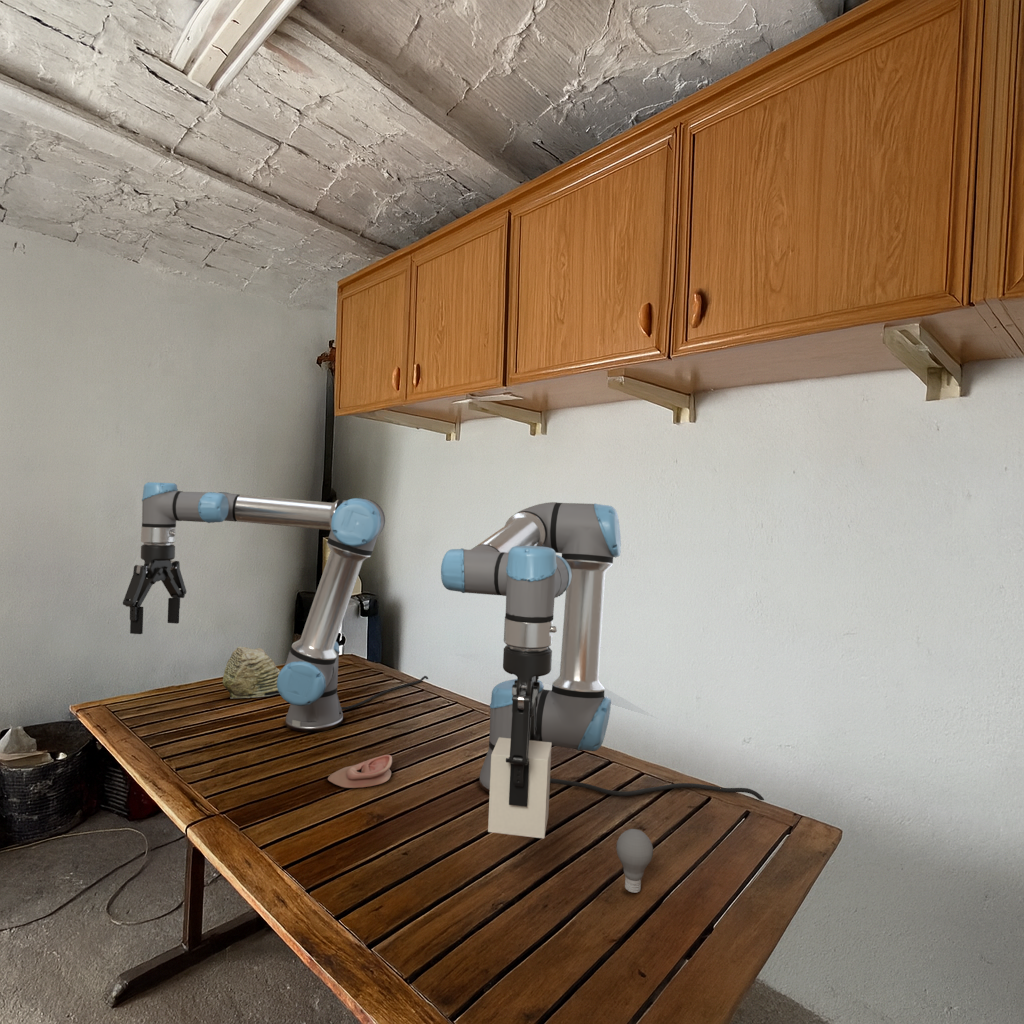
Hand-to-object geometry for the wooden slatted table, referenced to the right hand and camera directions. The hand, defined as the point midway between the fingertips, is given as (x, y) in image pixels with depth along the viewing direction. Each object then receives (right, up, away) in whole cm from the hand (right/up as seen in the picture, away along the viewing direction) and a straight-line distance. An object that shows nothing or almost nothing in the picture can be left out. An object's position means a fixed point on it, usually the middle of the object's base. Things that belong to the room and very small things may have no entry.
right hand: (521, 792), depth 98 cm
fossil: (-82, -14, +100) cm, 130 cm away
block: (0, -5, 0) cm, 5 cm away
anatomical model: (-36, -17, +45) cm, 60 cm away
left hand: (-91, +14, +61) cm, 110 cm away
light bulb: (+19, -20, +7) cm, 28 cm away
